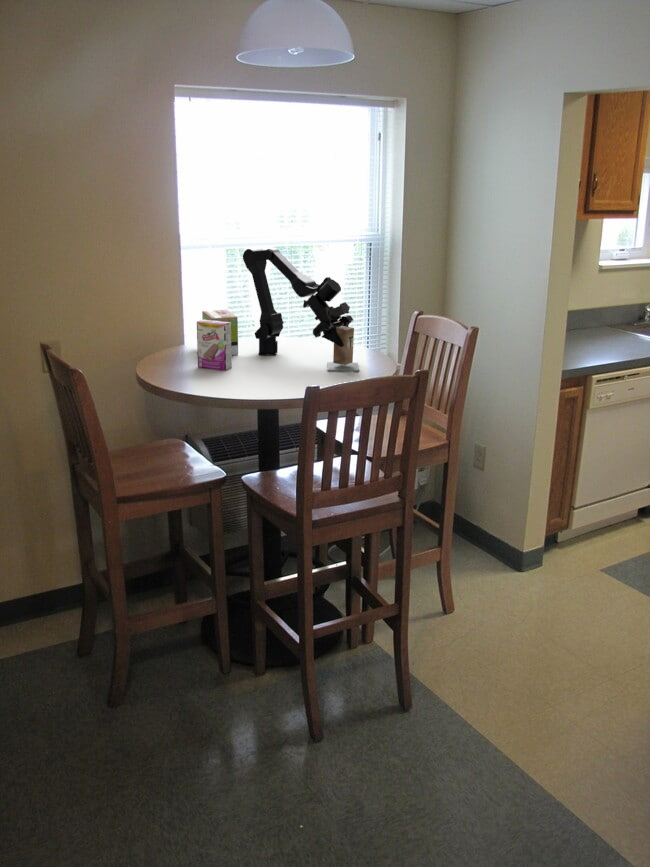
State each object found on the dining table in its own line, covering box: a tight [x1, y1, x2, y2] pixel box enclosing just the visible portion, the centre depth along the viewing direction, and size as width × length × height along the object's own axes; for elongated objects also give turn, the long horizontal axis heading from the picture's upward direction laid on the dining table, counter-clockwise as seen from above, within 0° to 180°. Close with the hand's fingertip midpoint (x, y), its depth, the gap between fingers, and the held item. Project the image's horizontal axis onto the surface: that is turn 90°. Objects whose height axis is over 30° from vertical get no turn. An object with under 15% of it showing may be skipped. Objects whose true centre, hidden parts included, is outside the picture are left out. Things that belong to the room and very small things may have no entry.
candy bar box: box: [196, 319, 233, 372], centre depth 264 cm, size 11×5×16 cm, turn 71°
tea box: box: [201, 309, 239, 356], centre depth 288 cm, size 15×10×15 cm, turn 23°
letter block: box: [332, 326, 355, 365], centre depth 268 cm, size 6×5×12 cm
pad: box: [327, 361, 360, 373], centre depth 271 cm, size 11×11×1 cm
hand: (346, 345), depth 268 cm, fingers closed on letter block, 5 cm apart
